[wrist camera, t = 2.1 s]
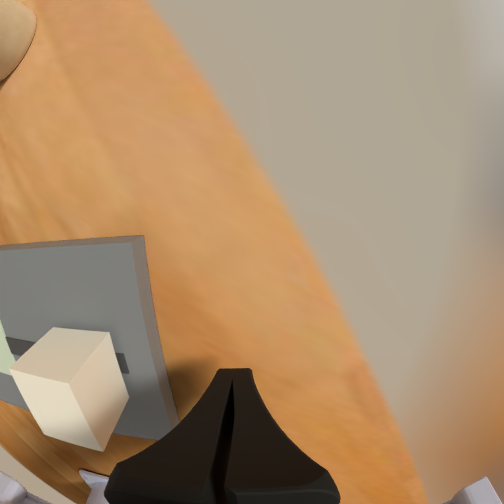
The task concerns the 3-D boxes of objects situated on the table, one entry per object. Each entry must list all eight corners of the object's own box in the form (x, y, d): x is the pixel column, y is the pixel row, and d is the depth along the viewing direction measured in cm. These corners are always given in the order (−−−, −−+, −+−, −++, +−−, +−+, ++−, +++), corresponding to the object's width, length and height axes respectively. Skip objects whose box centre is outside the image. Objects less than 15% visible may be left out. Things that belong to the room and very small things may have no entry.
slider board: (180, 425, 16) (176, 443, 14) (7, 389, 16) (-3, 399, 15) (143, 235, 13) (130, 243, 11) (-40, 249, 13) (-55, 255, 12)
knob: (129, 397, 13) (103, 452, 9) (76, 388, 13) (44, 434, 9) (109, 332, 12) (68, 383, 8) (53, 327, 12) (8, 368, 8)
